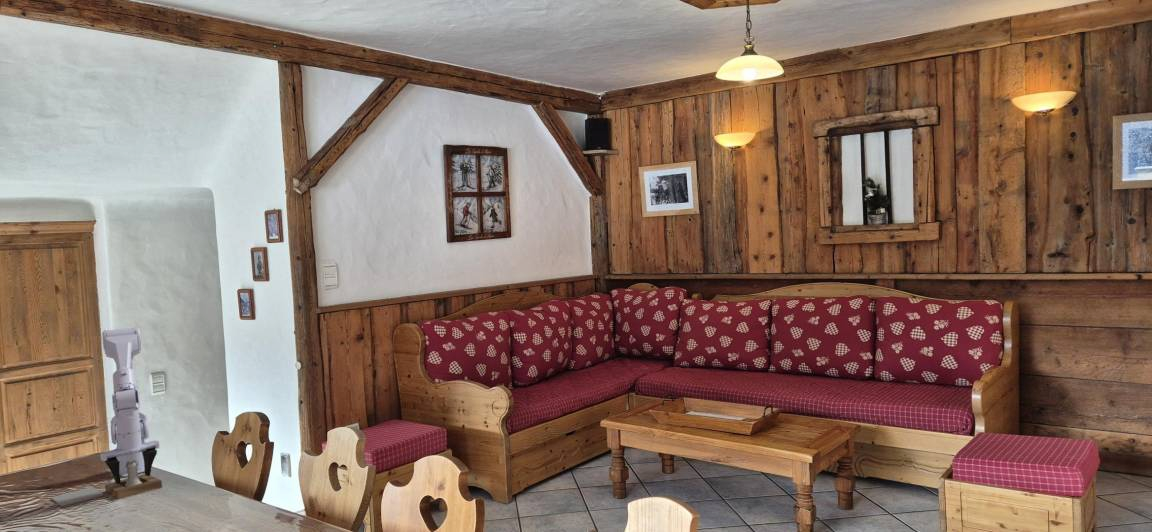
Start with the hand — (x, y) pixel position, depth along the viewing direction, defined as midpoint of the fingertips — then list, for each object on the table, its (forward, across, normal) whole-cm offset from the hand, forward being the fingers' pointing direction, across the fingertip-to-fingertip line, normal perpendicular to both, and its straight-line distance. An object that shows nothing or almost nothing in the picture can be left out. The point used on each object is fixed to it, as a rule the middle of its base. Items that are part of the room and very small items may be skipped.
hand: (133, 479), depth 214 cm
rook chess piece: (+3, 0, 0) cm, 3 cm away
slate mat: (+3, -12, +7) cm, 14 cm away
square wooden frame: (+3, 0, 0) cm, 3 cm away
